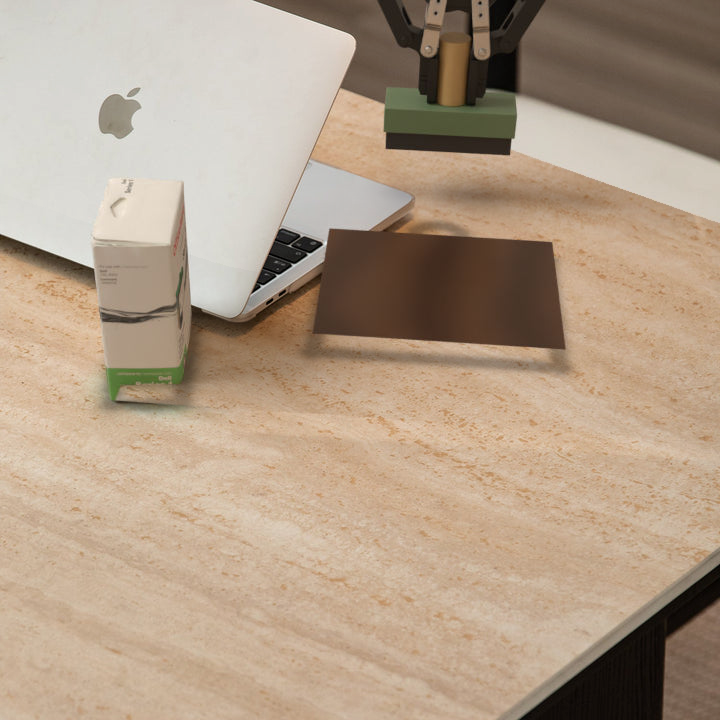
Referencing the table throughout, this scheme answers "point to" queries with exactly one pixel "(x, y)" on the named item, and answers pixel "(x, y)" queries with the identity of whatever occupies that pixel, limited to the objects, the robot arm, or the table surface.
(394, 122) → the brush
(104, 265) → the ink box
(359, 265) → the board
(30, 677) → the table surface
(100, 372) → the table surface
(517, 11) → the robot arm
